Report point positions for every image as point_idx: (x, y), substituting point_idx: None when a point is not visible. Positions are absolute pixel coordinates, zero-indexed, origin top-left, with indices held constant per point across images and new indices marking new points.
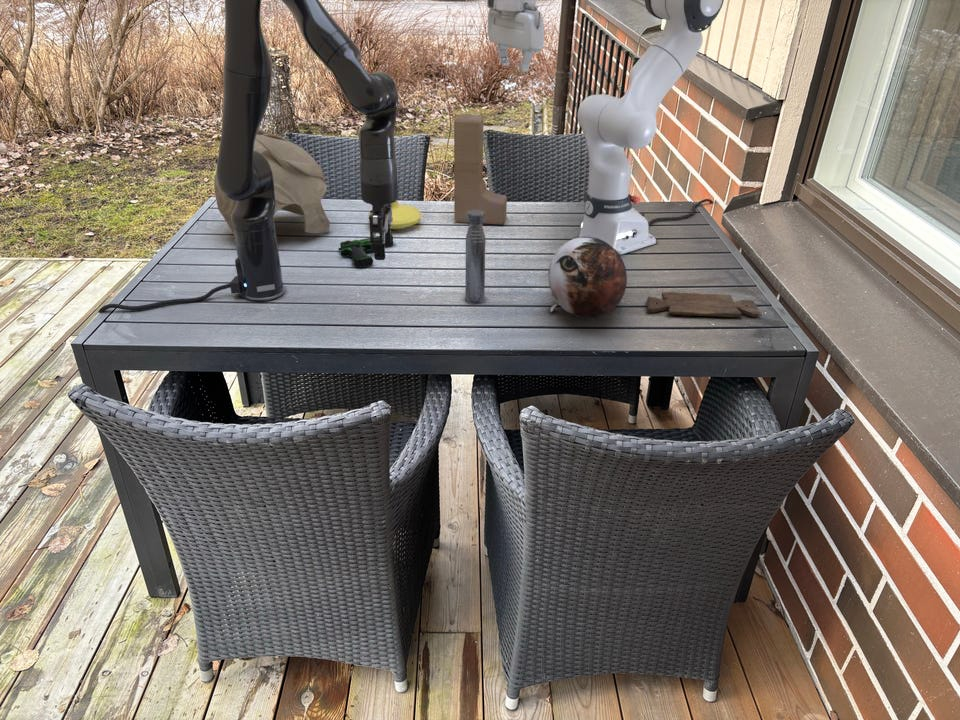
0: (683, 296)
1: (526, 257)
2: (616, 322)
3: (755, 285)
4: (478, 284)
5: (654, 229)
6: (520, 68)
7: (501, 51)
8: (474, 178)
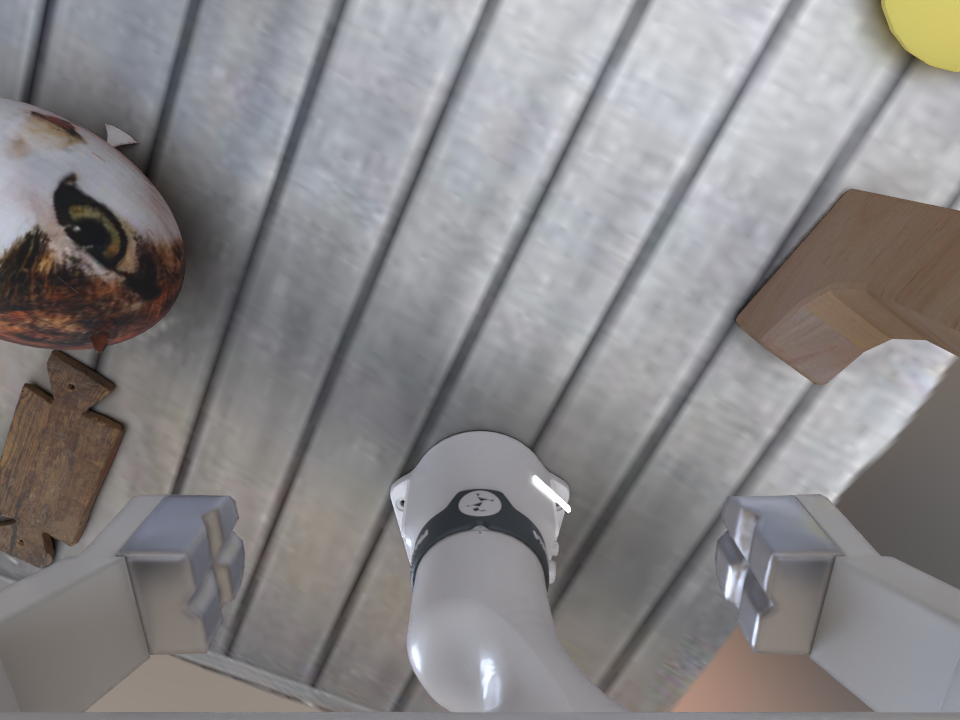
0: (87, 458)
1: (480, 258)
2: None
3: None
4: None
5: None
6: (175, 506)
7: (930, 648)
8: (891, 279)
